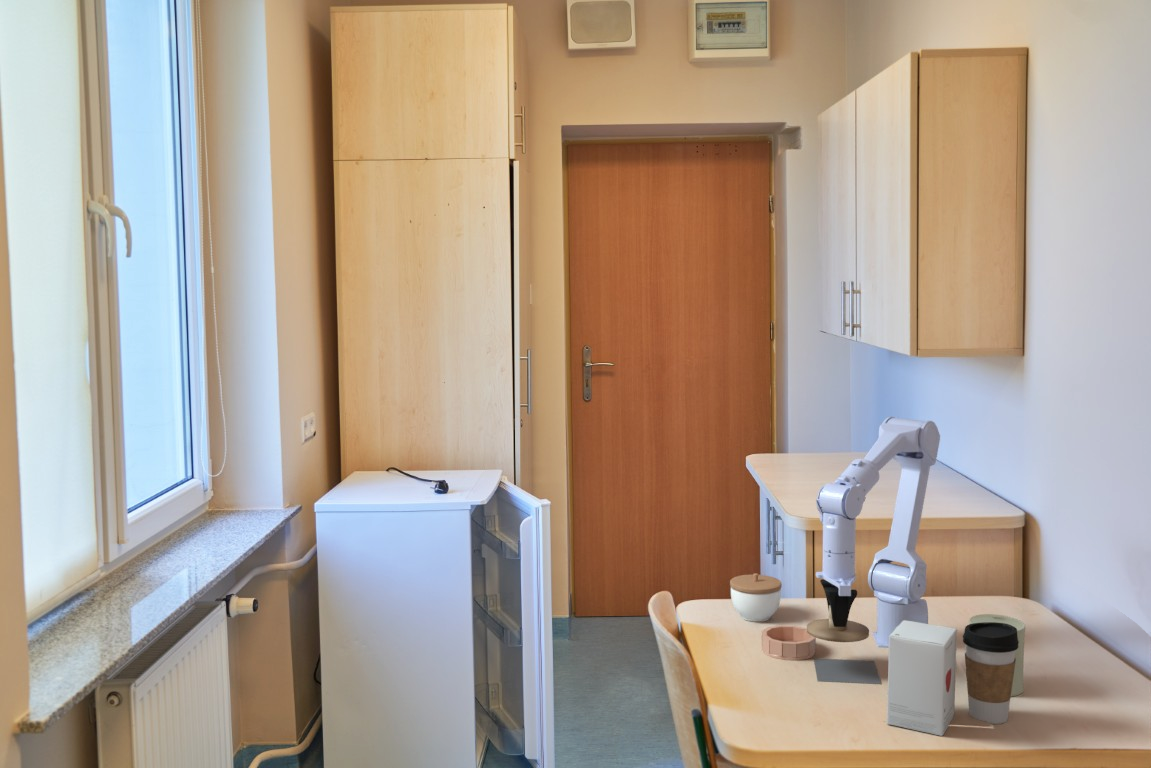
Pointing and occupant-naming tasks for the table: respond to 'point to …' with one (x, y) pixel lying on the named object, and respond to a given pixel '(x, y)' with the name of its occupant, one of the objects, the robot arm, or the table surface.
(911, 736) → the table surface
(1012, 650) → the coffee cup
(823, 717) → the table surface
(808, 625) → the lid
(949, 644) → the supplement box
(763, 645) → the dish
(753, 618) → the lidded jar
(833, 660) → the mat
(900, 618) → the robot arm
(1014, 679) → the can
